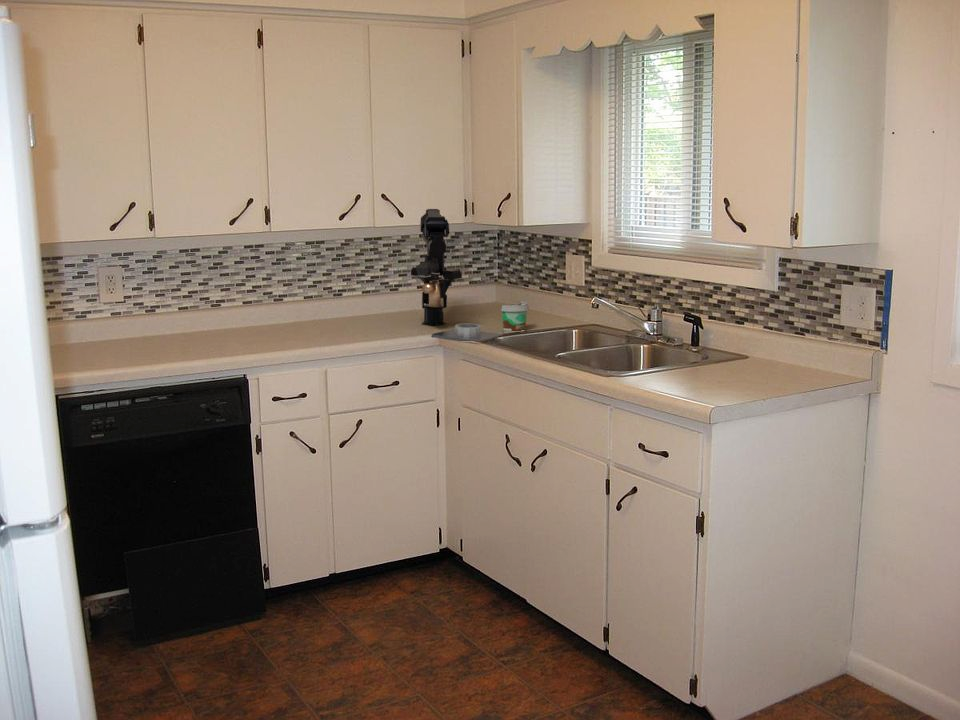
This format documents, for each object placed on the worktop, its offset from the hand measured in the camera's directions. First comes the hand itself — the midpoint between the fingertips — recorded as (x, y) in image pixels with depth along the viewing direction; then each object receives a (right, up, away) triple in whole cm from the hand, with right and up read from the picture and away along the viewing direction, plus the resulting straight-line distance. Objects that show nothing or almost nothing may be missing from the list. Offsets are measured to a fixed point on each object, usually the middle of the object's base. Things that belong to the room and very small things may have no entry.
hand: (436, 297), depth 348 cm
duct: (+11, -14, -5) cm, 19 cm away
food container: (+29, -12, +5) cm, 32 cm away
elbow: (-1, -3, -1) cm, 3 cm away
